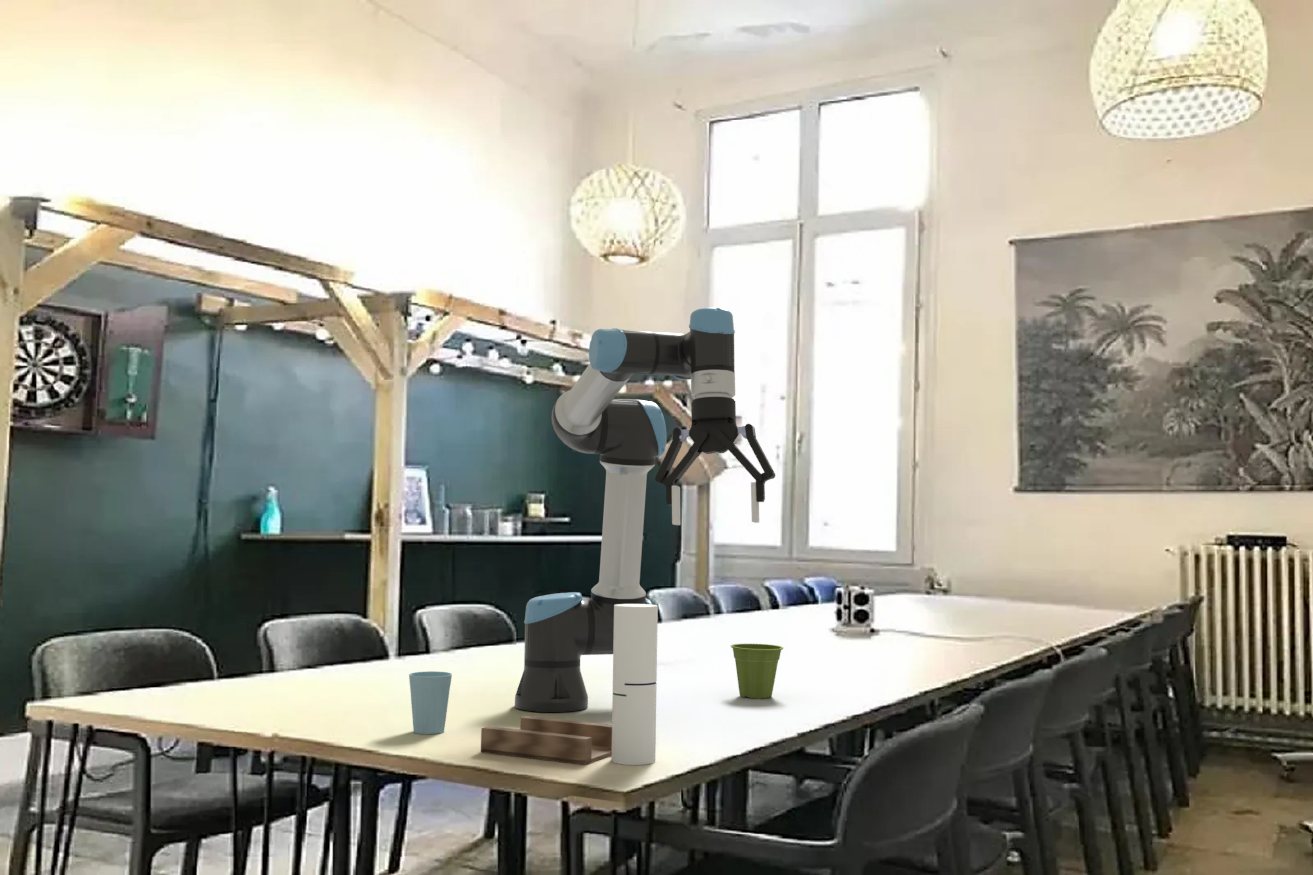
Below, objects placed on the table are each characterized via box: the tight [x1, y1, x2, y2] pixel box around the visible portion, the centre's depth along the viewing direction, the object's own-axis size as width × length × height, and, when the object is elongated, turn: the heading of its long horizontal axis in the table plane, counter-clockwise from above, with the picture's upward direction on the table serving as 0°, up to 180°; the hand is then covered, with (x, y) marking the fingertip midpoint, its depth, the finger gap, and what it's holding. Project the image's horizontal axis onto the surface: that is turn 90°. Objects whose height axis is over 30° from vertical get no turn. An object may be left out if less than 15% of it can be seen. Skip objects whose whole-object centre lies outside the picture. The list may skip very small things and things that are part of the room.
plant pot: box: [730, 643, 784, 700], centre depth 265 cm, size 12×12×11 cm
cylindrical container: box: [610, 604, 659, 766], centre depth 193 cm, size 7×7×25 cm
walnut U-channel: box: [480, 715, 612, 766], centre depth 199 cm, size 20×14×4 cm
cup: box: [408, 670, 453, 735], centre depth 215 cm, size 8×8×10 cm
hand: (715, 523), depth 198 cm, fingers open, 13 cm apart
